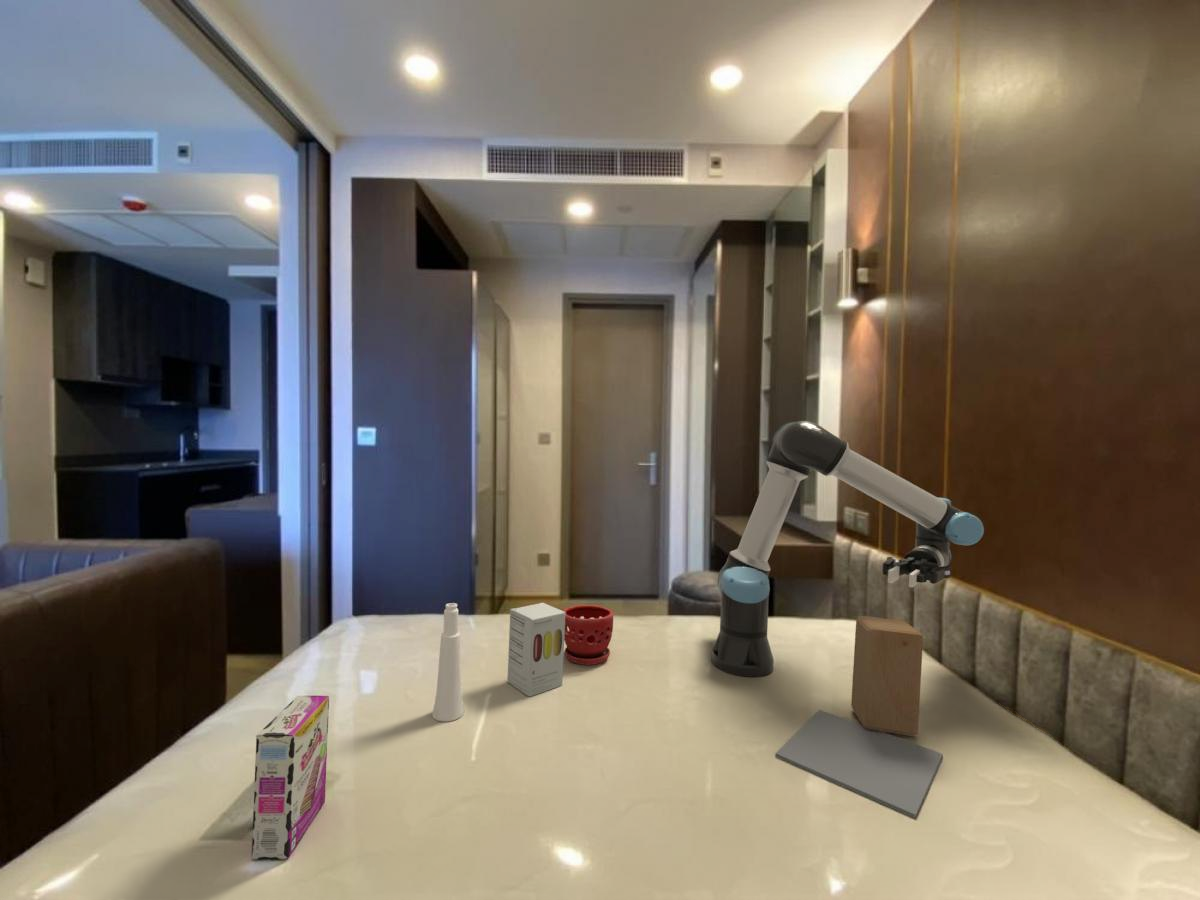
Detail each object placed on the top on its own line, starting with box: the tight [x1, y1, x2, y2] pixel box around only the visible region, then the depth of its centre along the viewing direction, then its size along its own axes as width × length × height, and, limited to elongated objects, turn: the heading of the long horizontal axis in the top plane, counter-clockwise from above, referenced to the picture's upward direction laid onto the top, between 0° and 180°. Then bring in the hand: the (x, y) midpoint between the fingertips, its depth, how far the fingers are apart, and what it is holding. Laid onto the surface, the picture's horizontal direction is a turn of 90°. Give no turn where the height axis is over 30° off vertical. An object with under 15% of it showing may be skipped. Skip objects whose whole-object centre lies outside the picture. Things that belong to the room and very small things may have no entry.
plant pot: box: [562, 604, 614, 666], centre depth 135 cm, size 13×13×12 cm
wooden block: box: [850, 615, 924, 737], centre depth 107 cm, size 10×10×20 cm
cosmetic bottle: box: [432, 602, 465, 723], centre depth 105 cm, size 6×6×22 cm
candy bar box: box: [250, 695, 330, 861], centre depth 73 cm, size 11×5×16 cm, turn 5°
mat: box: [774, 709, 944, 819], centre depth 95 cm, size 22×22×1 cm
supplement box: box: [506, 602, 565, 698], centre depth 119 cm, size 10×9×17 cm
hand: (900, 578), depth 113 cm, fingers open, 3 cm apart
